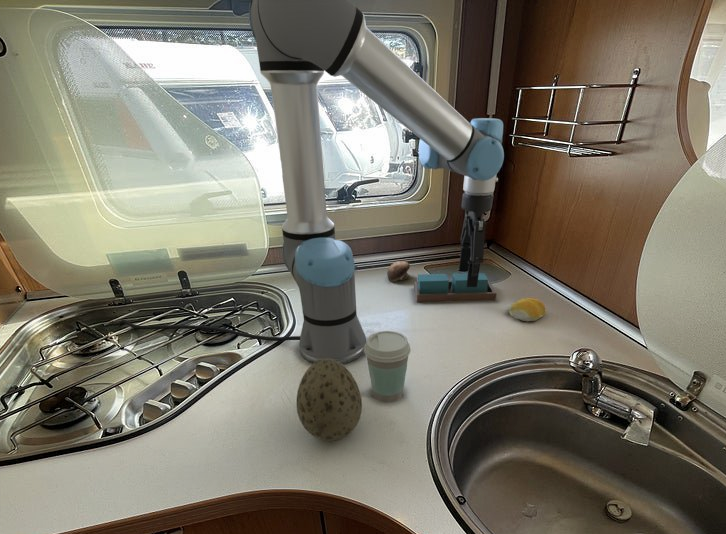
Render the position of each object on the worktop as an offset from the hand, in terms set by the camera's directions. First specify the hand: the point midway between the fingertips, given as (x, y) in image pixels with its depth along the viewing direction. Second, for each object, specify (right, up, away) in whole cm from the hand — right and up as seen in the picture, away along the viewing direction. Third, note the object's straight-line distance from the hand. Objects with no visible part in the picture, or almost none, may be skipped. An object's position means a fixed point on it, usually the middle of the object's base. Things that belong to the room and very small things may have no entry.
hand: (467, 278), depth 116 cm
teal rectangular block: (+1, -4, +3) cm, 5 cm away
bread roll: (+14, -11, -7) cm, 19 cm away
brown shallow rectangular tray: (-3, -4, +3) cm, 6 cm away
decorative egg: (-32, -38, -42) cm, 65 cm away
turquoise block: (-9, -4, +3) cm, 11 cm away
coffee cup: (-22, -31, -33) cm, 51 cm away
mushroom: (-19, +2, +13) cm, 23 cm away
